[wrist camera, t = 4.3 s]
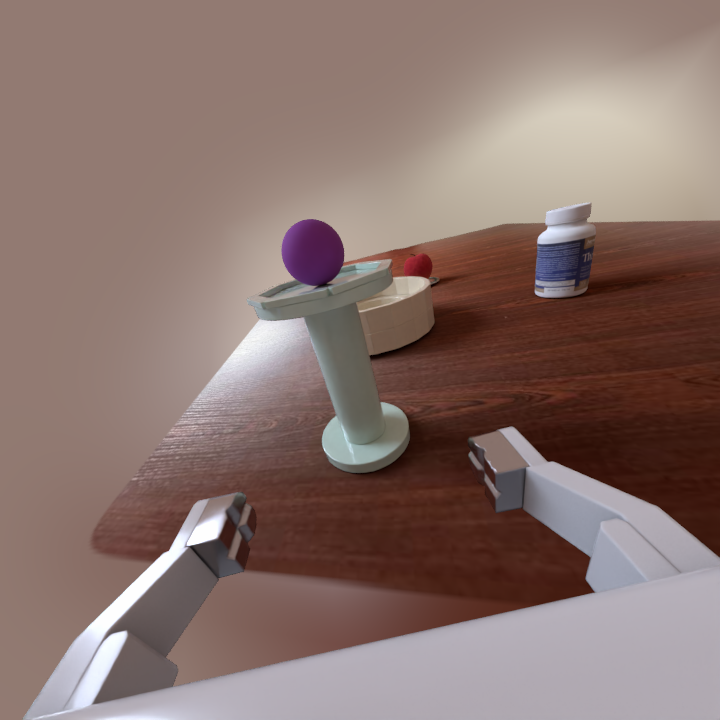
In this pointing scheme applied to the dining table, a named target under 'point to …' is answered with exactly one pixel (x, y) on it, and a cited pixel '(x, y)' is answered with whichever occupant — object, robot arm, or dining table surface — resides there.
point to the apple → (419, 267)
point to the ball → (312, 252)
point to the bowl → (397, 314)
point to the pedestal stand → (344, 363)
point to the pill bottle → (565, 252)
